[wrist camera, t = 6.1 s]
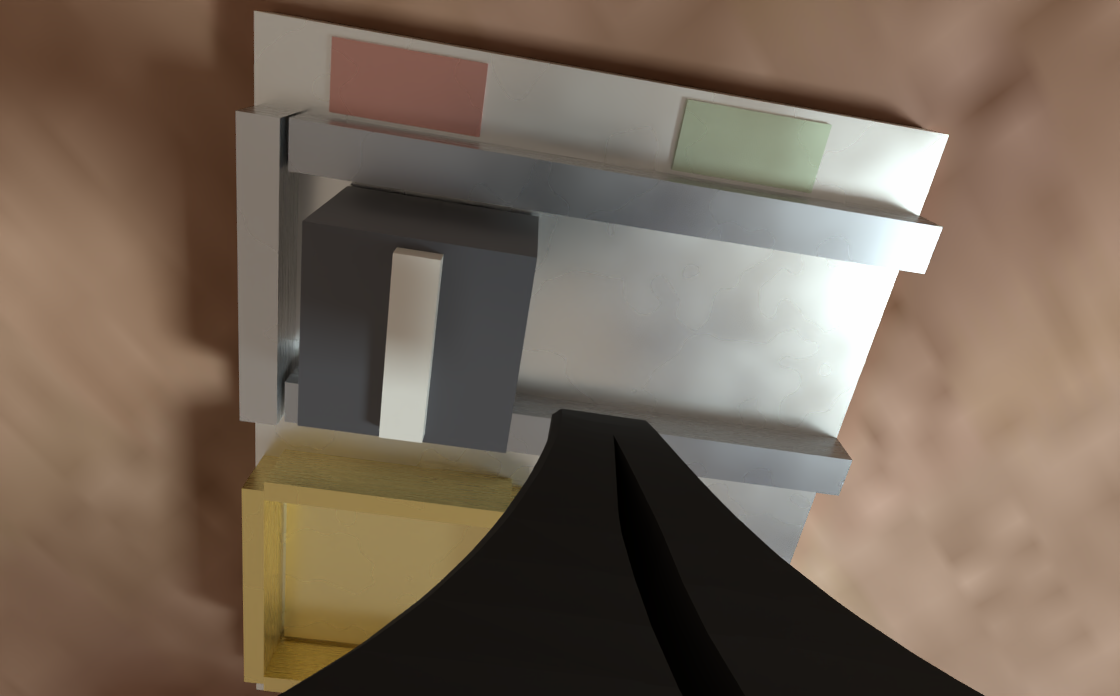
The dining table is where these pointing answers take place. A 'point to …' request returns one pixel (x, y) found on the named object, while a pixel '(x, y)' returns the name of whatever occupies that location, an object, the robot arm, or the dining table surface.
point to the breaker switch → (413, 318)
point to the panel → (555, 299)
